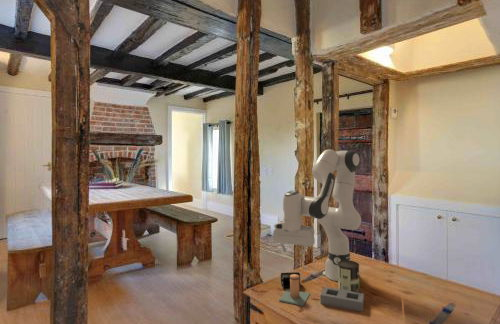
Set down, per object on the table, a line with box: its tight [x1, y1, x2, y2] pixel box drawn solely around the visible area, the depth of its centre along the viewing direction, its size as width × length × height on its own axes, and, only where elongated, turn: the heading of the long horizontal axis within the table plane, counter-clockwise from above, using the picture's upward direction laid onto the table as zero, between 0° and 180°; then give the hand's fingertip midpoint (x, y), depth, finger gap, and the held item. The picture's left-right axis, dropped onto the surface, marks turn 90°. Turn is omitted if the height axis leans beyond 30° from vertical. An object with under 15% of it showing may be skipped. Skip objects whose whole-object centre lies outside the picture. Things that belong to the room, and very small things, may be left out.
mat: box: [278, 289, 311, 307], centre depth 141 cm, size 12×12×1 cm
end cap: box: [280, 271, 302, 290], centre depth 154 cm, size 10×7×7 cm
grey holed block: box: [319, 286, 365, 313], centre depth 133 cm, size 9×18×5 cm, turn 64°
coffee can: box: [337, 260, 360, 293], centre depth 146 cm, size 10×10×14 cm
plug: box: [290, 274, 300, 299], centre depth 140 cm, size 4×4×10 cm
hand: (293, 252), depth 140 cm, fingers open, 8 cm apart
